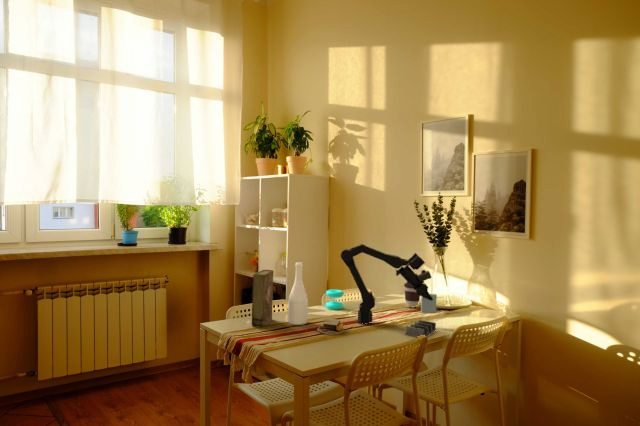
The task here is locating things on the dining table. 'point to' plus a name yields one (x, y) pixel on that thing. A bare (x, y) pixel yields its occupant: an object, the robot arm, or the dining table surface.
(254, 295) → the book
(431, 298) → the robot arm
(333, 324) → the toy sandwich meal
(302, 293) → the wine bottle
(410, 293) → the coffee cup
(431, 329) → the dish rack
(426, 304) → the tall grey-blue box
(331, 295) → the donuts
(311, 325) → the dining table surface
